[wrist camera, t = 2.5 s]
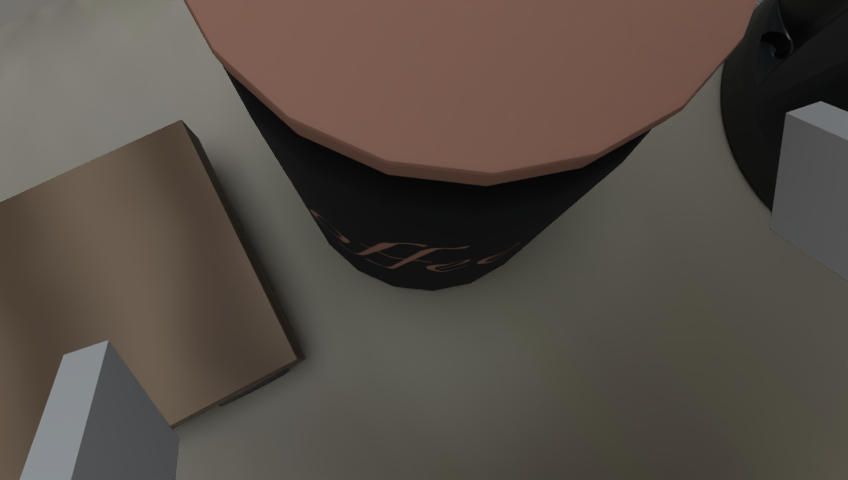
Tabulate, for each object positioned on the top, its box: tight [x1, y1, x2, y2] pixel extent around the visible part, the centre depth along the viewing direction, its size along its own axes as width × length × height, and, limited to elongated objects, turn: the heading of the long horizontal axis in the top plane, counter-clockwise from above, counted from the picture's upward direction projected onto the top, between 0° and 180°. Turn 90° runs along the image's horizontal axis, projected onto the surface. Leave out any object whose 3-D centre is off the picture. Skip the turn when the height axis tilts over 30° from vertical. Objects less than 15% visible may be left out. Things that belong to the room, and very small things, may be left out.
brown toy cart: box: [0, 120, 305, 480], centre depth 23 cm, size 14×10×5 cm
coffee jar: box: [184, 0, 757, 291], centre depth 19 cm, size 11×11×18 cm
